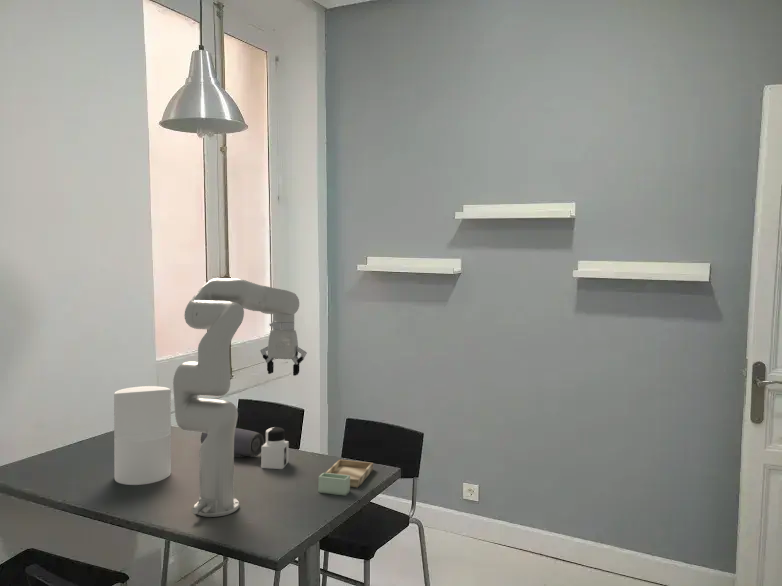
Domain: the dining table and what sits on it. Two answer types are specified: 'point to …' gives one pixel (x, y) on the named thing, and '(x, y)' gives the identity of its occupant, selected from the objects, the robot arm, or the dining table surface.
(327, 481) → the small crate
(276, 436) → the container
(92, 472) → the dining table surface
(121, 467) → the cylinder
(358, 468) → the wooden tray
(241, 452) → the bluetooth speaker
